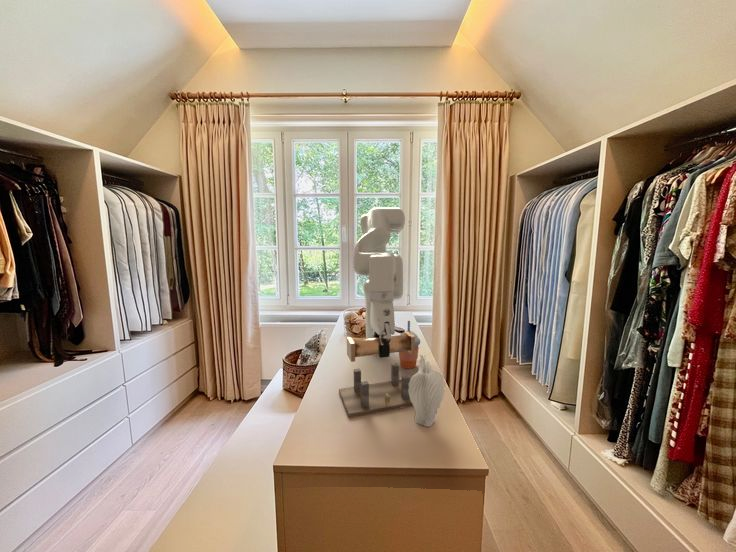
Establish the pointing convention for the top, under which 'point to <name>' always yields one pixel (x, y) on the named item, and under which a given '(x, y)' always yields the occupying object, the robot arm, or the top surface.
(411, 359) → the cup with straw
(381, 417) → the top surface
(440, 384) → the shell sculpture
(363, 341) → the copper tube
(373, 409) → the collar board
